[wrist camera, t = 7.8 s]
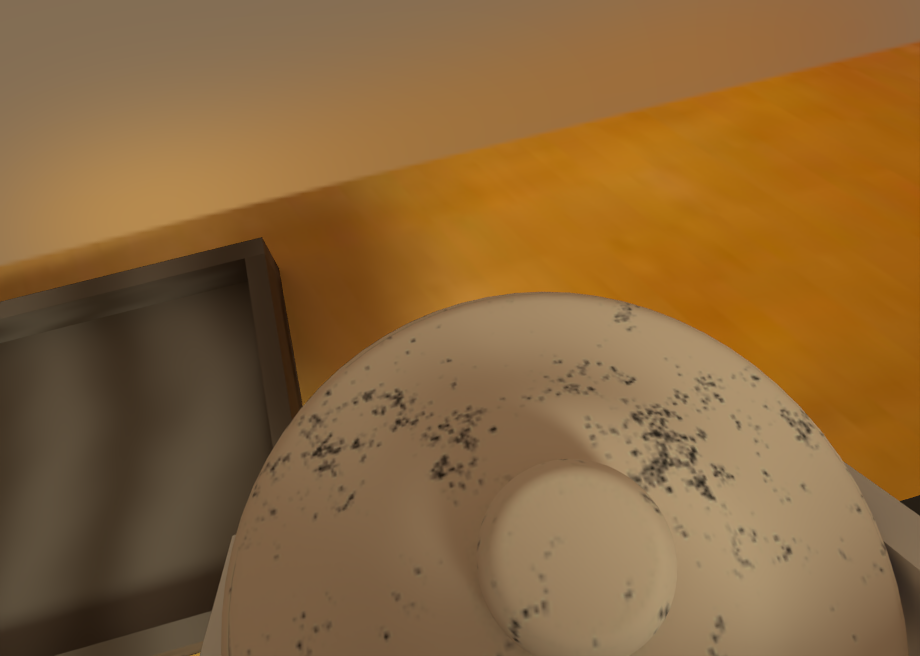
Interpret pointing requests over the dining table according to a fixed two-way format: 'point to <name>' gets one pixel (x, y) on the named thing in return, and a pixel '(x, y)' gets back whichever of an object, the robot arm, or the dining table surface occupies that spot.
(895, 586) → the teacup with lid
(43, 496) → the tea tray
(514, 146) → the dining table surface
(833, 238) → the dining table surface
